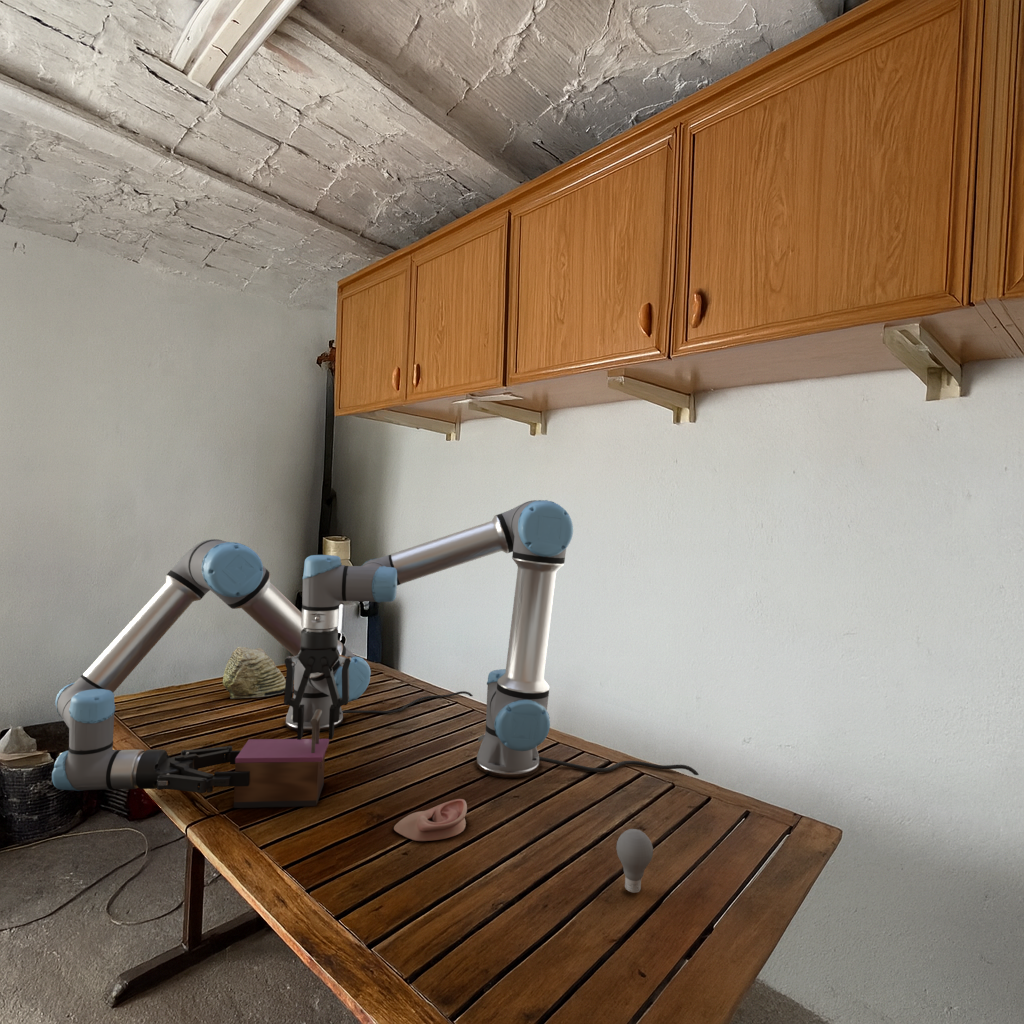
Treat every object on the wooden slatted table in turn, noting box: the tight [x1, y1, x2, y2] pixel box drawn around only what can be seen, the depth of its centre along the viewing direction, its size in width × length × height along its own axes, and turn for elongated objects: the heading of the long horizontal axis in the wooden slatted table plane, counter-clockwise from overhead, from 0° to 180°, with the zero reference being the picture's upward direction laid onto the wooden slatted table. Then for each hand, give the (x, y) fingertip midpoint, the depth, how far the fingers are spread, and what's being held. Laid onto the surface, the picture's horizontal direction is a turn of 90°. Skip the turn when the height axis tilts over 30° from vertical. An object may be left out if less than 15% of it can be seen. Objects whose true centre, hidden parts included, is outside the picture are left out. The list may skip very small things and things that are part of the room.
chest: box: [233, 754, 326, 809], centre depth 133 cm, size 16×10×9 cm, turn 98°
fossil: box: [222, 646, 286, 699], centre depth 198 cm, size 9×18×15 cm, turn 132°
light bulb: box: [615, 828, 654, 894], centre depth 106 cm, size 6×6×10 cm
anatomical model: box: [393, 798, 468, 842], centre depth 123 cm, size 13×4×12 cm
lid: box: [235, 709, 330, 763], centre depth 133 cm, size 17×10×8 cm, turn 98°
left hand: (255, 767), depth 133 cm, fingers closed on chest, 10 cm apart
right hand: (315, 736), depth 134 cm, fingers open, 6 cm apart
